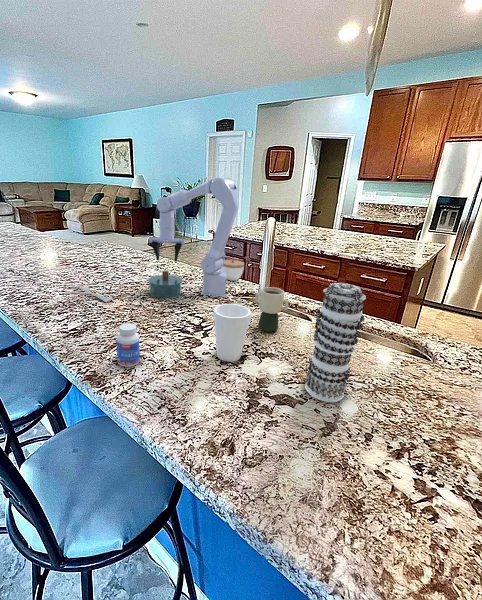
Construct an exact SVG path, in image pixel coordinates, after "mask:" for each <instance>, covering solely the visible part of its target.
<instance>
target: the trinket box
mask: <svg viewBox="0 0 482 600" xmlns="http://www.w3.org/2000/svg"><path fill="white" fill-rule="evenodd" d="M244 270H245V262H244V261H241V260H238V259H237V260H236V259H235V258H232V259H225V264H224V266H223V267H222V272H223V273H226V281H233V282H234V281H238V280H239V279H240V278H241V277H242V276H243V274H244Z"/></svg>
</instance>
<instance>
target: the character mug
mask: <svg viewBox="0 0 482 600" xmlns="http://www.w3.org/2000/svg"><path fill="white" fill-rule="evenodd" d="M254 302H255V303H258V307H259V311H261V313H260V316H259V320H258V323H257V327H258V328H259V330H261V331H264V332H267V333H268V332H275V331H277V330H279V313H281V311H282V310H284V311H288V309H289V300H288V299H285V291H284V289H282V288H279V287H274V286H265V287H261V289H260V292H258V291H256V292H255V298H254Z"/></svg>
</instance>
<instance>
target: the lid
mask: <svg viewBox="0 0 482 600" xmlns="http://www.w3.org/2000/svg"><path fill="white" fill-rule="evenodd" d="M147 279H148V280H147V282H148V284H149V283H150V284H153V285H156V286H175V285H179V284H181V285H182V283H183V278H182V277H181V276H180V277H179V276H178V275H173V274H172V275H171V274H170V273H169V270H167V269H165V270H162V271H161V274H157V275H153V276H150V277H148V278H147Z"/></svg>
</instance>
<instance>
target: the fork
mask: <svg viewBox="0 0 482 600" xmlns="http://www.w3.org/2000/svg"><path fill="white" fill-rule="evenodd" d="M78 289H80V290H82V291H85V292H86V293H88V294H90V295H92V296H94V297H96V298H98V299H99V300H101V301H102V302H104V303H108V301H109V300H110V298H108V297H105V296H103V295H100V294H99V295H98V294H95V293H93V292H91V291H90V288H89V287H88V286H86V285H83V286H80V287H79V286H78V287H76V288H75V290H78Z"/></svg>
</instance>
